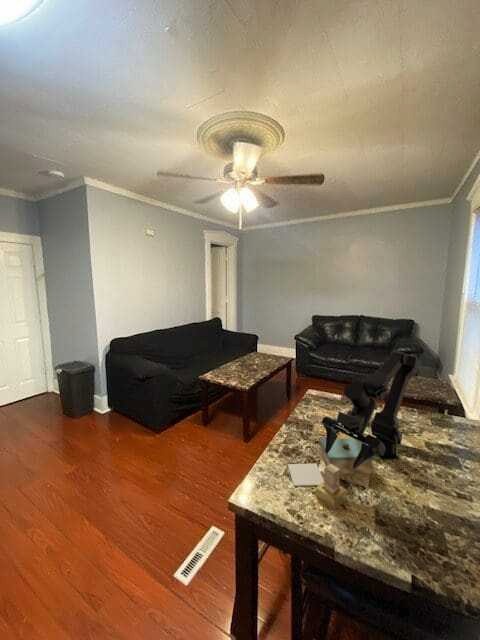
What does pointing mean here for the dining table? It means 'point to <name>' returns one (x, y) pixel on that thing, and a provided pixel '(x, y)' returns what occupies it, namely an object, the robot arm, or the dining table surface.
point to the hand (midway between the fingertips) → (339, 460)
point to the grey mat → (305, 474)
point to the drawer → (345, 456)
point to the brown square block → (331, 479)
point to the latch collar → (331, 496)
